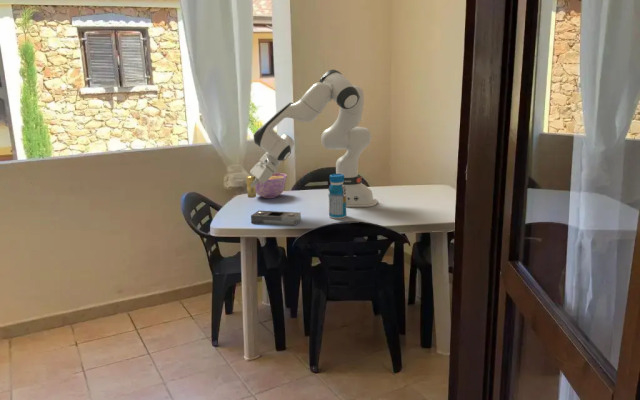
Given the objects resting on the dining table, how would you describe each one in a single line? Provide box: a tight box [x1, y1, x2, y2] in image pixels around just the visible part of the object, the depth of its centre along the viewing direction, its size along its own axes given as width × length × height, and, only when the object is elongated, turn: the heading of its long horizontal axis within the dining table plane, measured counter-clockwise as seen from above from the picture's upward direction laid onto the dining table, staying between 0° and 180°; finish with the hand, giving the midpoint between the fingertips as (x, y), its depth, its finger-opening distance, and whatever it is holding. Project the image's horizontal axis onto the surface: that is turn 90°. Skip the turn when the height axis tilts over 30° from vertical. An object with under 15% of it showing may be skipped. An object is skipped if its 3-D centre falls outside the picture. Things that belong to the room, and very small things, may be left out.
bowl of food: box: [255, 172, 288, 199], centre depth 288 cm, size 20×20×12 cm
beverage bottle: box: [327, 173, 347, 220], centre depth 243 cm, size 8×8×20 cm
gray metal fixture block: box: [250, 210, 302, 226], centre depth 240 cm, size 21×9×4 cm, turn 73°
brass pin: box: [246, 175, 257, 199], centre depth 252 cm, size 4×4×10 cm
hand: (249, 185), depth 251 cm, fingers closed on brass pin, 4 cm apart
